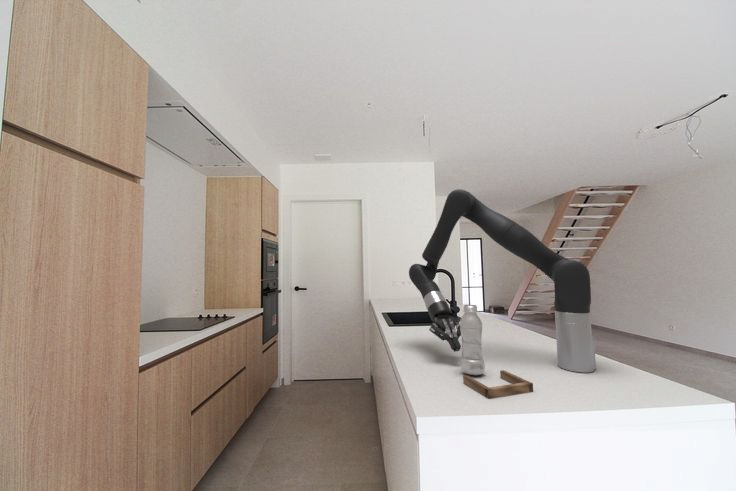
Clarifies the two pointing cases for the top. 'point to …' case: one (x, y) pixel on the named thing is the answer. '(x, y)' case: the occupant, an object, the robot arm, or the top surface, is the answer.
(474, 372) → the plastic bottle
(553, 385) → the top surface
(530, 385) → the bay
